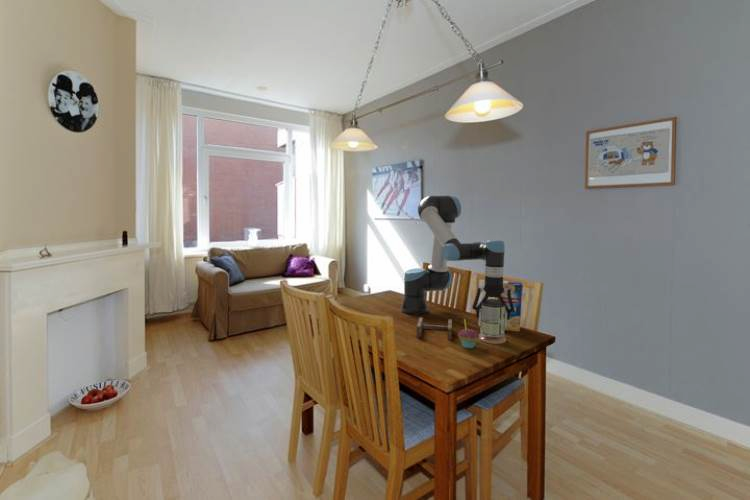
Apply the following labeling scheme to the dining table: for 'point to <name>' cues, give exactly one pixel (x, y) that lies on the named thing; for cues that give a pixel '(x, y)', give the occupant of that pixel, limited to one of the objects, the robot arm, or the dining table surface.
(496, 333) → the coffee can
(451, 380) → the dining table surface
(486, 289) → the robot arm
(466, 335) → the cupcake
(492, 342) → the coaster
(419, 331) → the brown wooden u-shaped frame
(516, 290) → the blue cardboard box
